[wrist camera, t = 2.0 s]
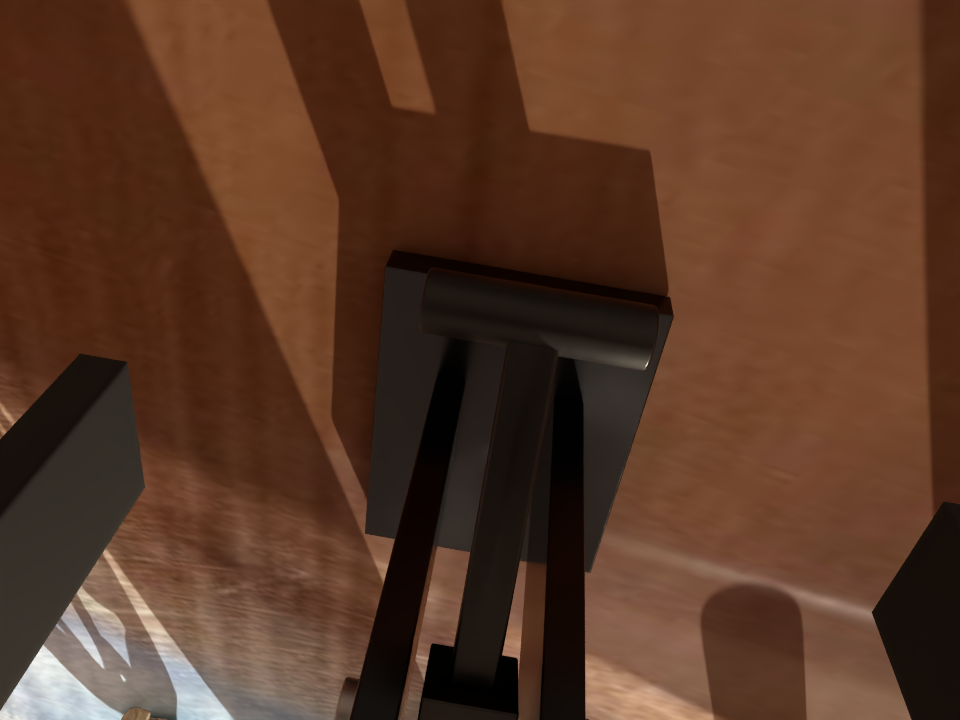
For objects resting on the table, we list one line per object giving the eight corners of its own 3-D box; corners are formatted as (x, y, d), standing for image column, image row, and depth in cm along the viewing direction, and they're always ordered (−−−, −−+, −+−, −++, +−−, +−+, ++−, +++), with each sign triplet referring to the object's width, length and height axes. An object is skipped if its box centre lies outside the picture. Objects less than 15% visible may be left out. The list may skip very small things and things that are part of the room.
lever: (434, 263, 18) (423, 270, 16) (648, 300, 18) (668, 311, 16) (361, 731, 21) (341, 797, 18) (552, 766, 20) (558, 836, 18)
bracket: (392, 249, 26) (243, 596, 14) (670, 296, 25) (742, 684, 14) (371, 512, 32) (258, 888, 21) (590, 550, 32) (595, 948, 21)
